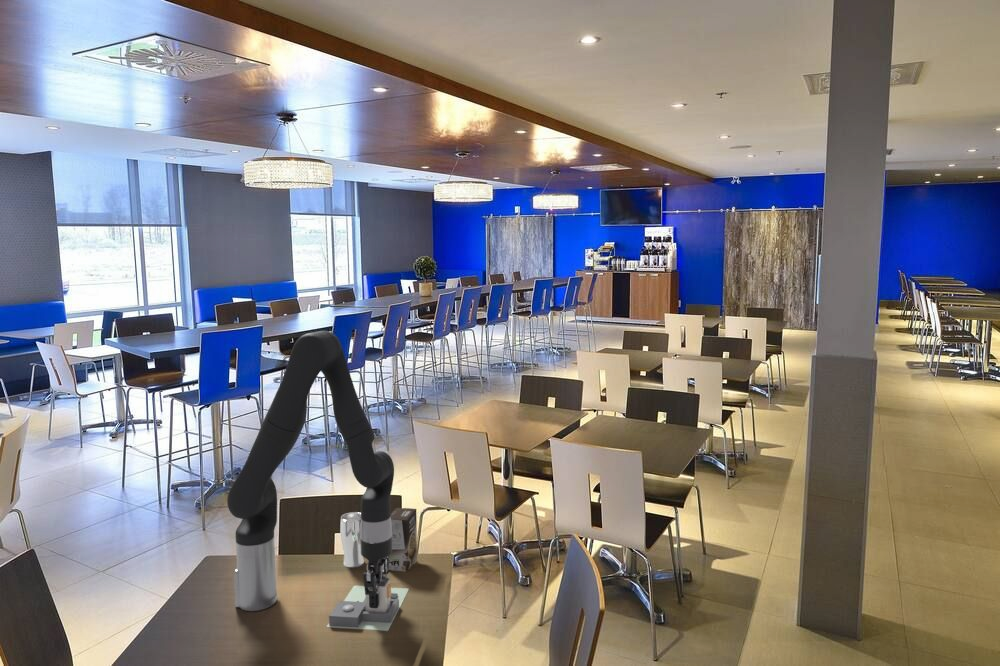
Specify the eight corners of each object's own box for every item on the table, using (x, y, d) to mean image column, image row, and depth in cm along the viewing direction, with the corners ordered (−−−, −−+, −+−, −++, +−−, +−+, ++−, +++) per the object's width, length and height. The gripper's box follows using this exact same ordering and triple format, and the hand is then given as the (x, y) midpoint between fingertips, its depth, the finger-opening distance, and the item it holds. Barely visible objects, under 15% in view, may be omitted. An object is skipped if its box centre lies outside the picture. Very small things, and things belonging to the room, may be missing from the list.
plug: (366, 617, 161) (365, 584, 161) (371, 608, 165) (370, 576, 164) (388, 618, 161) (387, 586, 160) (392, 609, 165) (392, 578, 164)
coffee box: (407, 576, 185) (406, 520, 183) (385, 573, 186) (384, 518, 184) (418, 561, 194) (417, 508, 192) (397, 559, 195) (396, 506, 193)
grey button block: (329, 625, 158) (328, 614, 157) (344, 602, 168) (344, 591, 168) (357, 627, 157) (357, 615, 157) (371, 604, 168) (371, 593, 167)
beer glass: (354, 558, 195) (353, 509, 194) (371, 565, 191) (370, 515, 190) (336, 567, 190) (334, 517, 188) (352, 574, 186) (351, 523, 184)
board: (326, 631, 158) (326, 618, 157) (354, 589, 177) (353, 578, 177) (388, 635, 156) (387, 622, 156) (409, 592, 176) (408, 581, 175)
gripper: (370, 522, 168) (371, 585, 170) (351, 547, 154) (353, 615, 156) (399, 523, 168) (400, 587, 169) (382, 548, 153) (384, 617, 155)
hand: (377, 600), depth 163 cm, fingers open, 5 cm apart
